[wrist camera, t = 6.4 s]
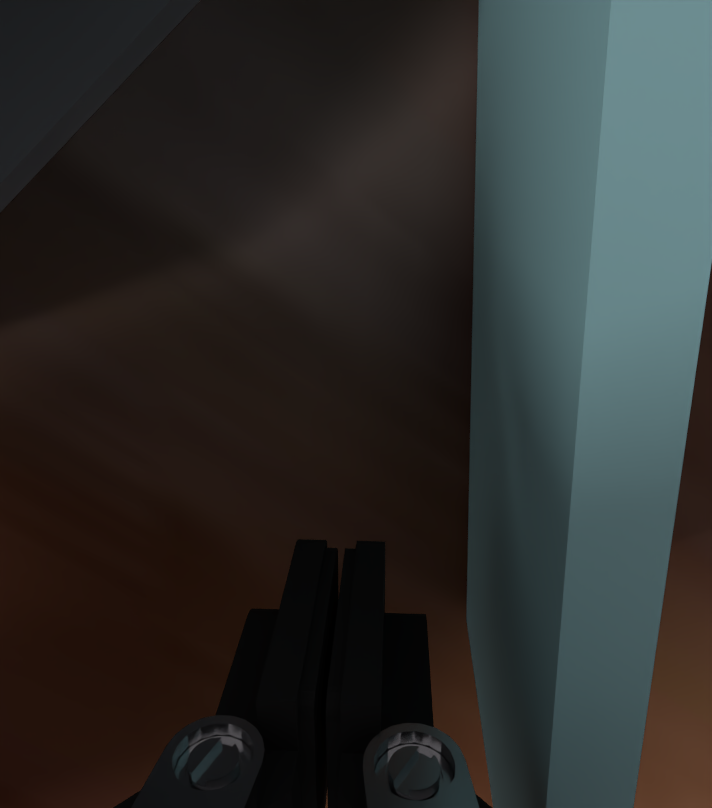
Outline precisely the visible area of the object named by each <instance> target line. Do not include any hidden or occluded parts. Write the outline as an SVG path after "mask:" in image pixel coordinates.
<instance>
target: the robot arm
mask: <svg viewBox="0 0 712 808" xmlns="http://www.w3.org/2000/svg"><path fill="white" fill-rule="evenodd" d="M327 788H328V808H492V807H490V806H489V805H488V804H487V803H486V802H484V801H483V800H482V799H481V798H480V797H478V796H477V795H476V794H475V791H474V788H473V784H472V781H471V777H470V774H469V771H468V767H467V764H466V760H465V758H464V756H463V754H462V752H461V750H460V748H459V746H458V745H457V744H456V743H455V742H454V741H453V740H452V739H451V738H450V736H448V735H447V734H445V733H443V732H442V731H440V730H438V729H437V728H434V726H433V711H432V695H431V680H430V665H429V649H428V634H427V620H426V614H400V613H385V542H378V541H357V543H356V549H349V548H345V554H344V561H343V569H342V577H341V585H340V593H339V595H338V550H337V548H327V541H326V540H305V539H298V540H297V542H296V546H295V549H294V553H293V557H292V561H291V565H290V569H289V573H288V577H287V581H286V585H285V589H284V592H283V596H282V600H281V604H280V608H279V609H251V610H250V611H249V614H248V616H247V619H246V622H245V625H244V629H243V632H242V635H241V638H240V641H239V644H238V647H237V650H236V654H235V657H234V660H233V663H232V666H231V669H230V672H229V675H228V678H227V682H226V685H225V688H224V691H223V694H222V697H221V700H220V703H219V707H218V710H217V713H216V715H215V716H211V717H206V718H202V719H199V720H197V721H195V722H193V723H191V724H189V725H187V726H186V727H184V728H183V729H182V730H180V731H179V732H178V733H177V734H175V736H174V737H173V738H172V739H171V741H170V742H169V743H168V745H167V746H166V747H165V749H164V751H163V753H162V754H161V756H160V758H159V760H158V761H157V763H156V765H155V767H154V768H153V770H152V772H151V774H150V775H149V777H148V779H147V781H146V782H145V784H144V786H143V788H142V789H141V791H139V792H137V793H136V794H134V795H133V796H131V797H129V798H128V799H126V800H125V801H123V802H121V803H120V804H118V805H117V806H115V807H114V808H325V804H326V795H327Z"/></svg>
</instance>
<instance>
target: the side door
mask: <svg viewBox="0 0 712 808" xmlns="http://www.w3.org/2000/svg"><path fill="white" fill-rule="evenodd" d="M711 263H712V0H479V20H478V70H477V119H476V169H475V218H474V267H473V317H472V366H471V416H470V465H469V515H468V564H467V614H466V621H467V628H468V635H469V642H470V649H471V656H472V663H473V670H474V677H475V683H476V690H477V697H478V704H479V711H480V718H481V725H482V732H483V739H484V746H485V753H486V760H487V767H488V774H489V781H490V788H491V795H492V802H493V808H633V806H634V800H635V793H636V786H637V779H638V772H639V765H640V758H641V751H642V744H643V737H644V730H645V723H646V716H647V709H648V702H649V695H650V688H651V681H652V674H653V667H654V660H655V653H656V646H657V639H658V632H659V625H660V618H661V611H662V604H663V597H664V590H665V583H666V577H667V570H668V563H669V556H670V549H671V542H672V535H673V528H674V521H675V514H676V507H677V500H678V493H679V486H680V479H681V472H682V465H683V458H684V451H685V444H686V437H687V430H688V423H689V416H690V409H691V402H692V395H693V388H694V381H695V374H696V367H697V360H698V354H699V347H700V340H701V333H702V326H703V319H704V312H705V305H706V298H707V291H708V284H709V277H710V270H711Z"/></svg>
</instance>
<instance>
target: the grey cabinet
mask: <svg viewBox="0 0 712 808" xmlns="http://www.w3.org/2000/svg"><path fill="white" fill-rule="evenodd" d="M199 1H200V0H0V212H1V211H2V210H3V209H4V208H5V207H6V206H7V205H8V204H9V203H10V202H11V201H12V200H13V199H14V198H15V196H16V195H17V194H18V193H19V192H20V191H21V190H22V189H23V188H24V187H25V186H26V185H27V184H28V183H29V182H30V181H31V180H32V178H33V177H34V176H35V175H36V174H37V173H38V172H39V171H40V170H41V169H42V168H43V167H44V166H45V165H46V164H47V163H48V161H49V160H50V159H51V158H52V157H53V156H54V155H55V154H56V153H57V152H58V151H59V150H60V149H61V148H62V147H63V146H64V145H65V143H66V142H67V141H68V140H69V139H70V138H71V137H72V136H73V135H74V134H75V133H76V132H77V131H78V130H79V129H80V128H81V127H82V125H83V124H84V123H85V122H86V121H87V120H88V119H89V118H90V117H91V116H92V115H93V114H94V113H95V112H96V111H97V110H98V108H99V107H100V106H101V105H102V104H103V103H104V102H105V101H106V100H107V99H108V98H109V97H110V96H111V95H112V94H113V93H114V92H115V90H116V89H117V88H118V87H119V86H120V85H121V84H122V83H123V82H124V81H125V80H126V79H127V78H128V77H129V76H130V75H131V74H132V72H133V71H134V70H135V69H136V68H137V67H138V66H139V65H140V64H141V63H142V62H143V61H144V60H145V59H146V58H147V57H148V55H149V54H150V53H151V52H152V51H153V50H154V49H155V48H156V47H157V46H158V45H159V44H160V43H161V42H162V41H163V40H164V39H165V37H166V36H167V35H168V34H169V33H170V32H171V31H172V30H173V29H174V28H175V27H176V26H177V25H178V24H179V23H180V22H181V20H182V19H183V18H184V17H185V16H186V15H187V14H188V13H189V12H190V11H191V10H192V9H193V8H194V7H195V6H196V5H197V4H198V2H199Z"/></svg>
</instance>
